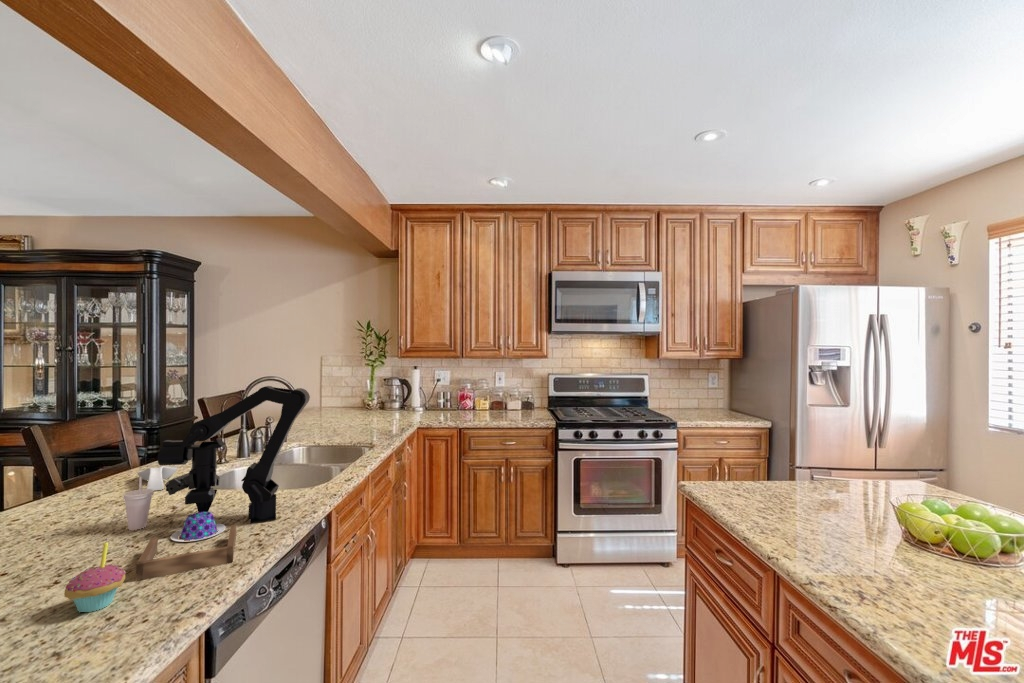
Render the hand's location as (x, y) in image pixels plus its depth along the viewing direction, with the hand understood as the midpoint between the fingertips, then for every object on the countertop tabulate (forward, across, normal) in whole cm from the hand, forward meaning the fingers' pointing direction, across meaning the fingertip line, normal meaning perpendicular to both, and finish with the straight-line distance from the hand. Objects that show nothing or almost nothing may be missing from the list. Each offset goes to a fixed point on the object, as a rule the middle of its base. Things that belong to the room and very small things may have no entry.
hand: (202, 518), depth 124 cm
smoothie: (+1, -4, -15) cm, 16 cm away
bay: (+1, +24, 0) cm, 24 cm away
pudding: (+2, +8, 0) cm, 8 cm away
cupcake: (+1, +39, -12) cm, 41 cm away
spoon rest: (+2, -52, -19) cm, 55 cm away
